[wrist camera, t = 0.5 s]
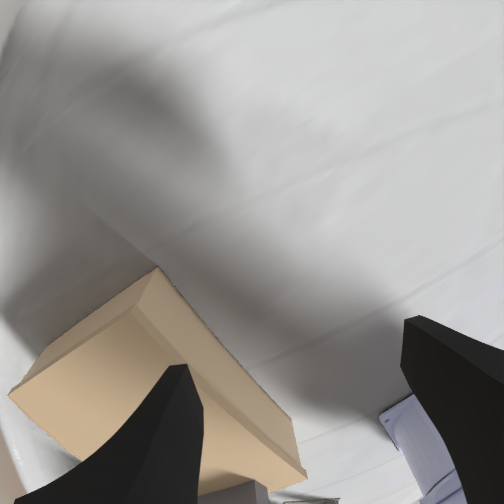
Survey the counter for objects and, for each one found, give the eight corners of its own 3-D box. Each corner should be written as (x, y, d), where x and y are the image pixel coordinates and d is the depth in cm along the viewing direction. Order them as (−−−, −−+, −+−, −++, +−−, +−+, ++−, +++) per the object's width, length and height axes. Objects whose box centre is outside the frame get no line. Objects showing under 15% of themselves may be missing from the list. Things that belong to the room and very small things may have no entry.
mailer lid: (305, 470, 19) (314, 507, 15) (172, 509, 20) (170, 540, 17) (135, 303, 14) (113, 345, 11) (12, 388, 15) (-10, 420, 12)
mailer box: (291, 419, 24) (301, 467, 19) (177, 463, 25) (173, 505, 20) (158, 265, 19) (136, 305, 14) (46, 346, 20) (17, 387, 16)
